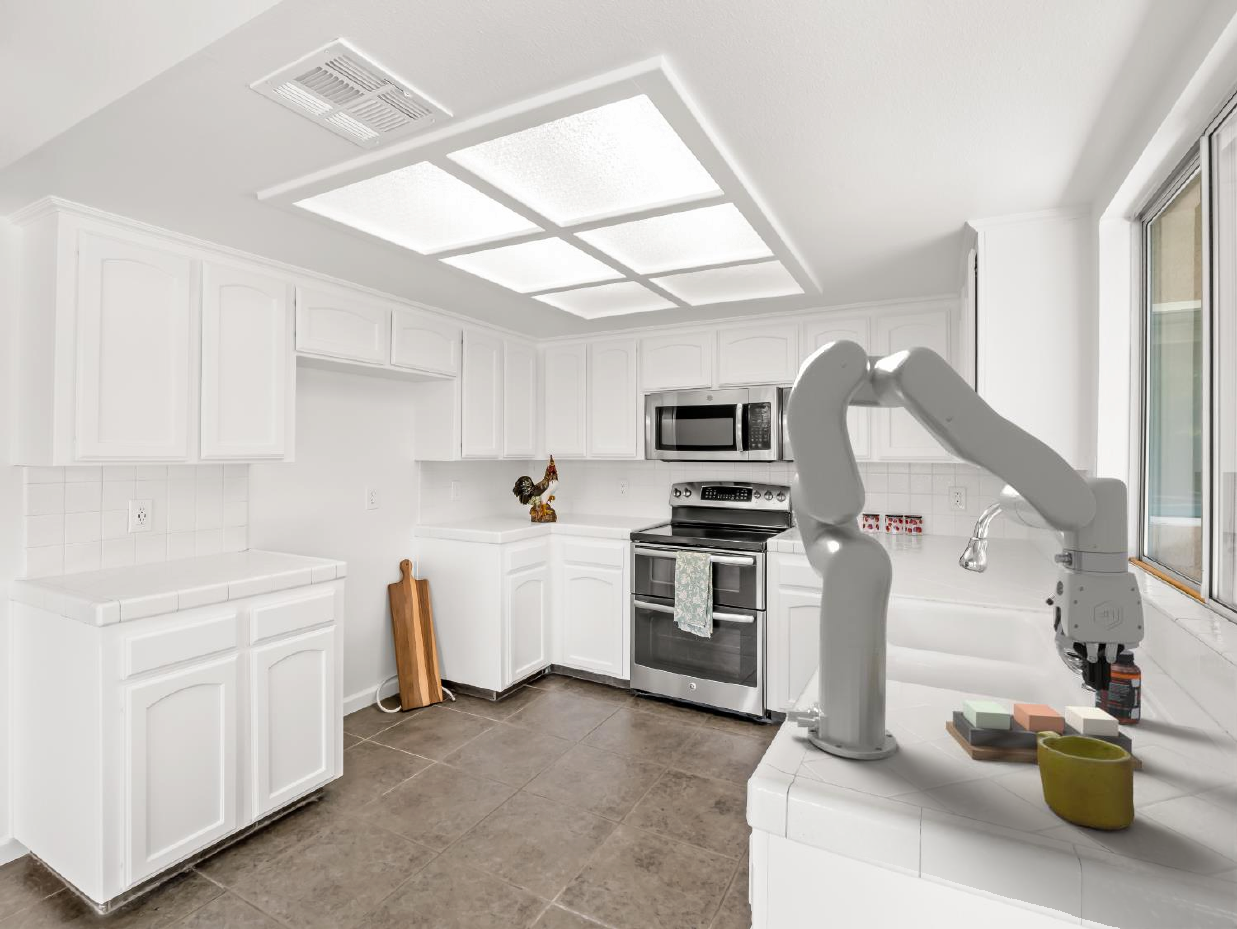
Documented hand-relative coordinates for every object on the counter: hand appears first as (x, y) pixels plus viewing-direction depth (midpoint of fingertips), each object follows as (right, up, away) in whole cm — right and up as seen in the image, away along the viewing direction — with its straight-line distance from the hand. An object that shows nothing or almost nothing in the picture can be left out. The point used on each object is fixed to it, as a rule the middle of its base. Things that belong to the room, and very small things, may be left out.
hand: (1096, 687), depth 93 cm
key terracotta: (-8, -6, +1) cm, 10 cm away
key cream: (-1, -6, 0) cm, 6 cm away
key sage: (-15, -6, +2) cm, 16 cm away
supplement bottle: (+13, -10, +12) cm, 20 cm away
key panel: (-8, -10, +1) cm, 12 cm away
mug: (-13, -10, -14) cm, 22 cm away
